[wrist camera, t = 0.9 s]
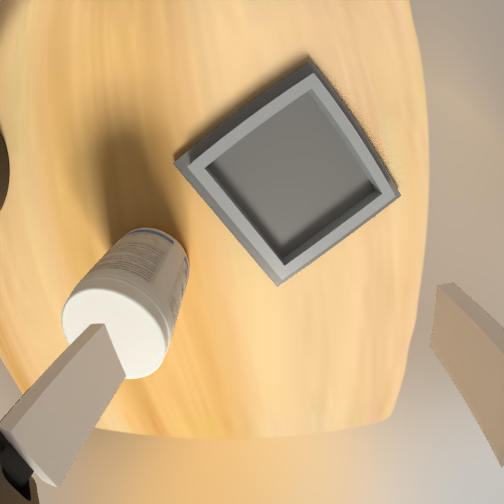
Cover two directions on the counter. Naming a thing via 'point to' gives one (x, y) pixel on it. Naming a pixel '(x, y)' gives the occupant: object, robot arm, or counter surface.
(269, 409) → the counter surface
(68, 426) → the robot arm
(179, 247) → the supplement tub
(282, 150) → the board
